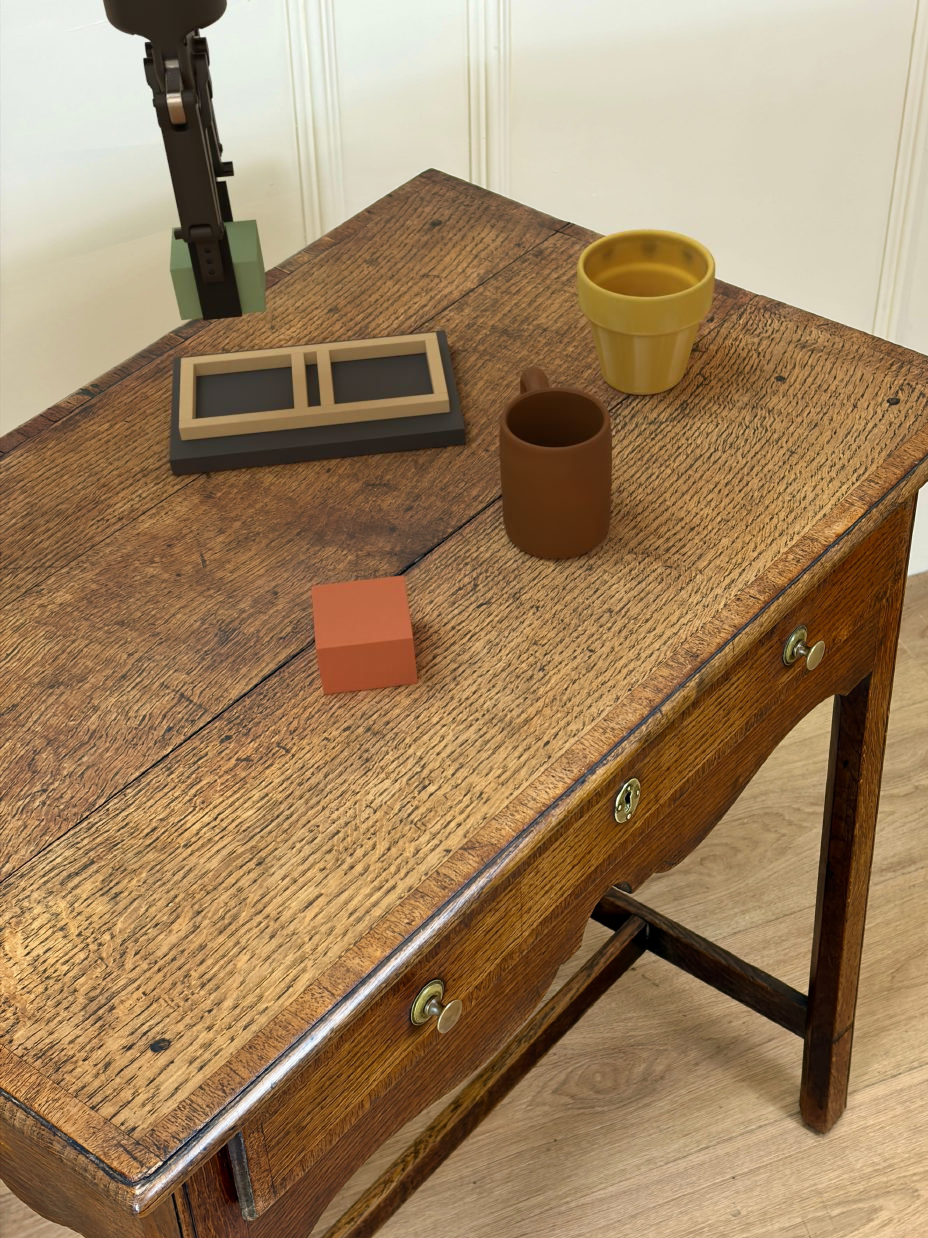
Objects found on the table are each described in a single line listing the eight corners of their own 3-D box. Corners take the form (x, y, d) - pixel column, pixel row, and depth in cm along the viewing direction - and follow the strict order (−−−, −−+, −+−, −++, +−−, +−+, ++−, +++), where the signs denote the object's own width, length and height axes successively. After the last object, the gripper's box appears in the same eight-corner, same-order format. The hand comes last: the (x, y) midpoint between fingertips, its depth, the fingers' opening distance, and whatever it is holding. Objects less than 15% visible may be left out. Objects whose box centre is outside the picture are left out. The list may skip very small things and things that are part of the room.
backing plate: (173, 476, 110) (165, 446, 108) (176, 373, 120) (170, 344, 118) (466, 444, 112) (464, 414, 110) (446, 345, 122) (444, 316, 120)
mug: (481, 469, 110) (474, 359, 103) (581, 453, 111) (580, 344, 104) (515, 571, 101) (511, 458, 95) (623, 553, 102) (625, 441, 96)
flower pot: (645, 426, 113) (649, 313, 106) (550, 374, 118) (548, 262, 111) (734, 372, 118) (744, 260, 111) (640, 324, 123) (643, 214, 116)
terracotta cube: (323, 695, 94) (315, 649, 91) (319, 631, 98) (311, 585, 95) (418, 683, 94) (413, 637, 91) (409, 620, 98) (404, 574, 95)
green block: (181, 320, 105) (169, 269, 102) (183, 277, 109) (171, 227, 106) (266, 311, 105) (257, 260, 102) (264, 269, 109) (256, 219, 106)
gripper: (216, 4, 84) (278, 357, 100) (218, -105, 97) (272, 223, 114) (82, 15, 83) (166, 369, 100) (102, -96, 96) (173, 233, 113)
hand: (222, 291), depth 107 cm, fingers closed on green block, 6 cm apart
